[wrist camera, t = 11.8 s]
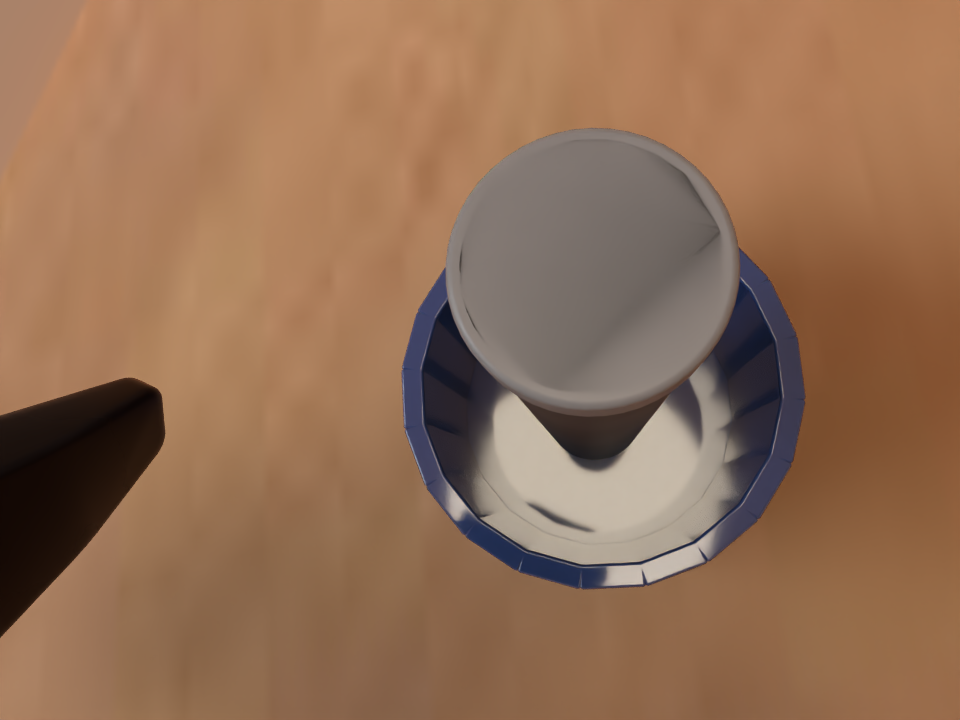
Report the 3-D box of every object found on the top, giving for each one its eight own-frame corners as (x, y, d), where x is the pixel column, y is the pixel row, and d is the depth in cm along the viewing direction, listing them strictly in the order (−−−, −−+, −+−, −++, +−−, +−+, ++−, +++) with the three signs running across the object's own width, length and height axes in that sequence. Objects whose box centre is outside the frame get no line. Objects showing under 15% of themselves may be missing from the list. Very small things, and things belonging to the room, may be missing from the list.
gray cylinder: (611, 481, 18) (640, 467, 6) (525, 428, 19) (390, 313, 6) (663, 395, 18) (799, 210, 6) (576, 344, 19) (541, 77, 6)
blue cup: (646, 617, 18) (667, 672, 13) (403, 457, 20) (329, 446, 14) (798, 365, 18) (881, 316, 13) (549, 225, 20) (532, 129, 15)
